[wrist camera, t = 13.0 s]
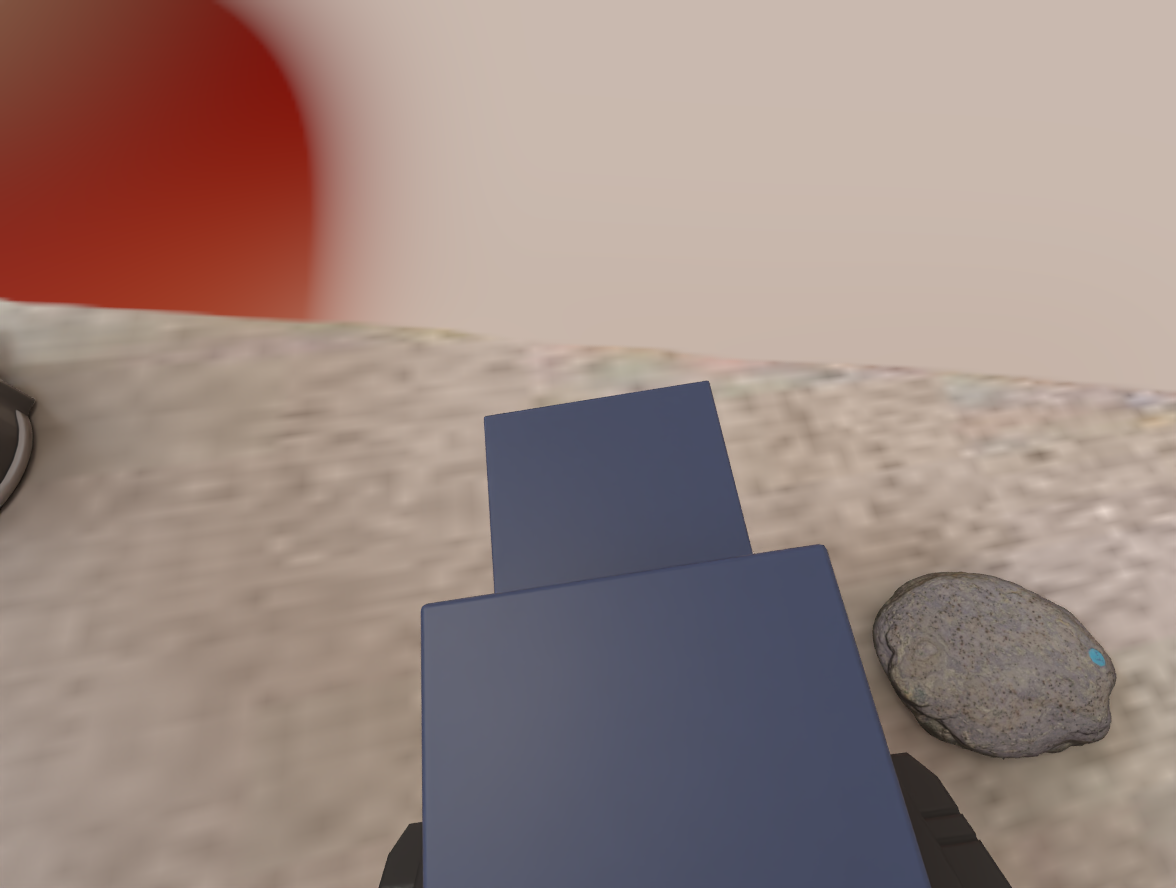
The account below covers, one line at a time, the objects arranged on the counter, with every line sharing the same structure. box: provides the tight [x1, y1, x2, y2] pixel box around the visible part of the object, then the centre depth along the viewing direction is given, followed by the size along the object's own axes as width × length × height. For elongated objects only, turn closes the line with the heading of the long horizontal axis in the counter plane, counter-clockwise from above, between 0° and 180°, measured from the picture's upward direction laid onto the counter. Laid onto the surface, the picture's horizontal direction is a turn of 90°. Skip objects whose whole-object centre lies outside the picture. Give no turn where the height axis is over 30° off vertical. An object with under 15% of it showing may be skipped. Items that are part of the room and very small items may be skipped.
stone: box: [873, 572, 1116, 759], centre depth 24 cm, size 7×8×2 cm
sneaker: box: [421, 381, 931, 888], centre depth 12 cm, size 14×6×9 cm, turn 7°
